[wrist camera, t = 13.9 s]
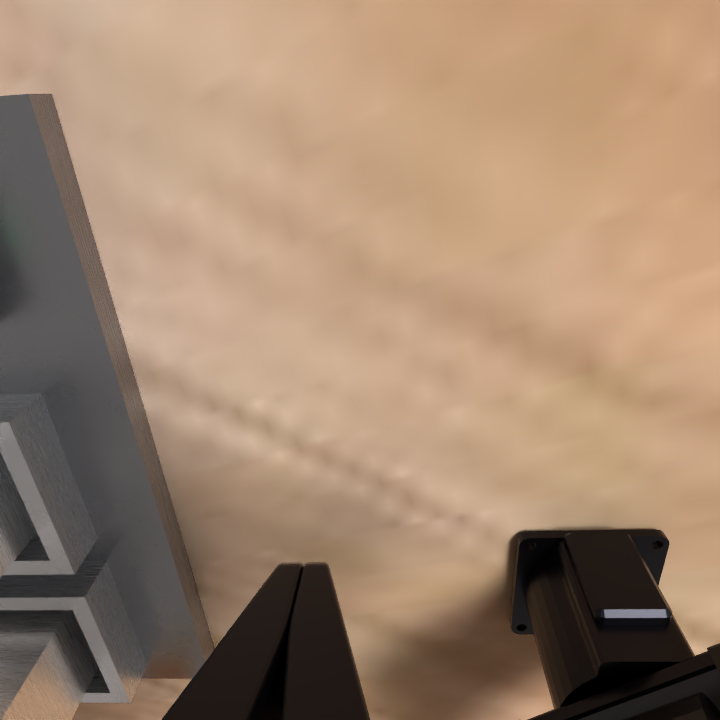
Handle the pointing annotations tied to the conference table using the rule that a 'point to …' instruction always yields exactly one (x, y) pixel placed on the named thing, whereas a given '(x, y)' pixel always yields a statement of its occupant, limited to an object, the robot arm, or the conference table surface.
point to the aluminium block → (12, 520)
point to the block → (42, 664)
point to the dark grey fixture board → (82, 431)
